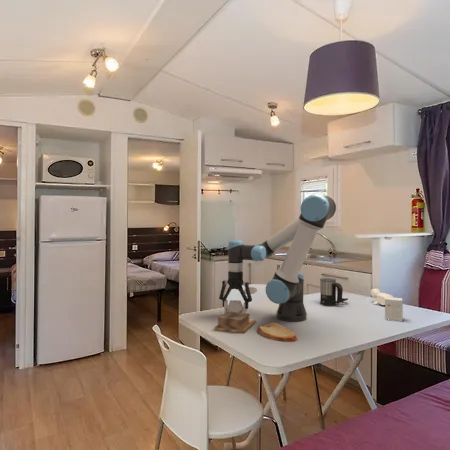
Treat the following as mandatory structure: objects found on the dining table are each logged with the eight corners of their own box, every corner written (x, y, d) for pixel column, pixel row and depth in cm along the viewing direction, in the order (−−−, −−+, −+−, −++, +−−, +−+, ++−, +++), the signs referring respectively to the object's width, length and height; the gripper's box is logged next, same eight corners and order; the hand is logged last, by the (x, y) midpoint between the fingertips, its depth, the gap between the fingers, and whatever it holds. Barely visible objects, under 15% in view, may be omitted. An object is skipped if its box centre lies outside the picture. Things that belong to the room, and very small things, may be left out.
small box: (402, 319, 187) (402, 298, 187) (402, 321, 182) (402, 300, 182) (385, 317, 191) (385, 296, 190) (384, 319, 185) (385, 298, 185)
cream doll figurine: (394, 311, 214) (374, 296, 226) (399, 298, 211) (379, 284, 223) (384, 313, 210) (364, 298, 222) (389, 300, 207) (369, 286, 219)
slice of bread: (297, 343, 152) (297, 334, 152) (253, 340, 156) (253, 331, 156) (298, 330, 170) (298, 321, 170) (258, 327, 173) (258, 319, 173)
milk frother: (317, 305, 216) (317, 279, 216) (326, 299, 229) (326, 275, 228) (341, 308, 208) (342, 282, 207) (350, 303, 221) (350, 278, 220)
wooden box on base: (256, 322, 180) (256, 310, 180) (244, 333, 164) (244, 320, 164) (229, 319, 186) (229, 307, 185) (215, 329, 169) (215, 317, 169)
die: (238, 321, 184) (248, 303, 187) (222, 311, 186) (233, 294, 189) (237, 322, 192) (247, 306, 195) (222, 313, 194) (232, 297, 197)
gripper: (258, 271, 189) (258, 314, 190) (218, 268, 198) (218, 310, 198) (254, 273, 183) (254, 318, 183) (212, 270, 191) (212, 313, 191)
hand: (235, 314), depth 191 cm, fingers closed on die, 10 cm apart
